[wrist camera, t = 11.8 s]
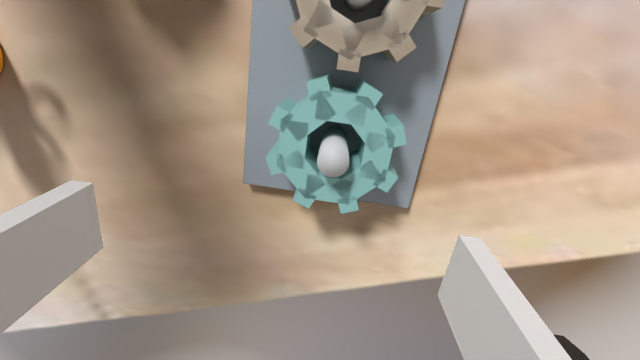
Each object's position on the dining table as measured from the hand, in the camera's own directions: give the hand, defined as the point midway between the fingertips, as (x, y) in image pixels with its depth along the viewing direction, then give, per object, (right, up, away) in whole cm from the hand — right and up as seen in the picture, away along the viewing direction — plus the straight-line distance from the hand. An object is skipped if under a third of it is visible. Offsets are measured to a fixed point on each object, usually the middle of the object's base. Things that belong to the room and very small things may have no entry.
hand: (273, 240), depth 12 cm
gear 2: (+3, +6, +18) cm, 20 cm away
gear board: (+4, +12, +18) cm, 22 cm away
